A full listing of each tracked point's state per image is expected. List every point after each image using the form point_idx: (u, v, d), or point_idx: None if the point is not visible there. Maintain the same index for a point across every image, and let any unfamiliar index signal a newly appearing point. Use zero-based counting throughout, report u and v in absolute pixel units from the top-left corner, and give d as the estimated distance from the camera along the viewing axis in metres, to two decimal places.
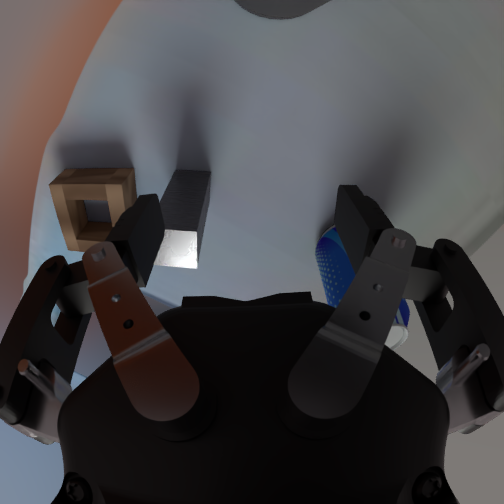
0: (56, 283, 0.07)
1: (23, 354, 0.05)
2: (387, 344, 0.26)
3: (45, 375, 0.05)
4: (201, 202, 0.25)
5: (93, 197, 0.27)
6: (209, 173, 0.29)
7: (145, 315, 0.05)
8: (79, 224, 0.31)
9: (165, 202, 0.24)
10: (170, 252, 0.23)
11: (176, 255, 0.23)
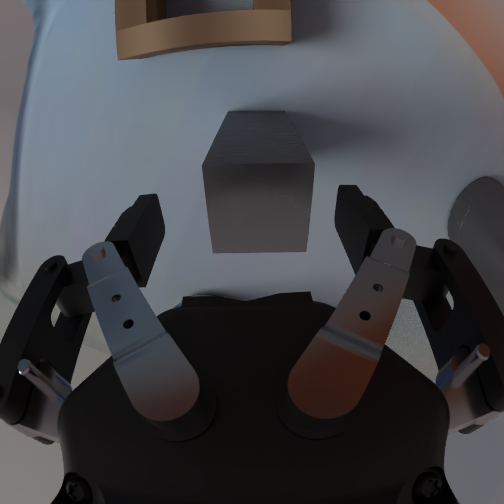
0: (56, 283, 0.07)
1: (23, 354, 0.05)
2: None
3: (45, 375, 0.05)
4: None
5: None
6: None
7: (145, 315, 0.05)
8: None
9: None
10: (250, 206, 0.11)
11: (242, 217, 0.11)
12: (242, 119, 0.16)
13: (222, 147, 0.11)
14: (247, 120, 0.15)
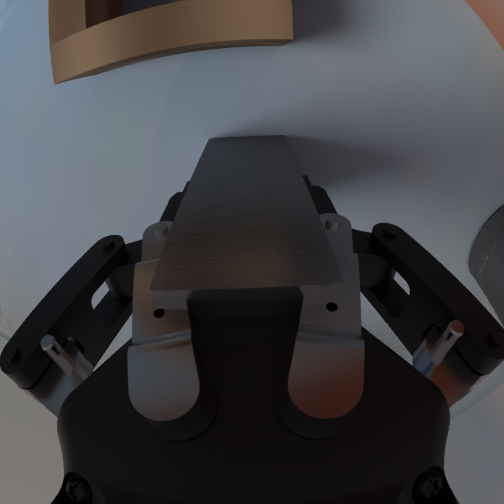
0: (107, 265, 0.08)
1: (50, 330, 0.06)
2: None
3: (68, 354, 0.06)
4: None
5: None
6: None
7: (178, 309, 0.05)
8: None
9: None
10: None
11: None
12: (226, 155, 0.12)
13: (188, 232, 0.07)
14: (233, 158, 0.11)
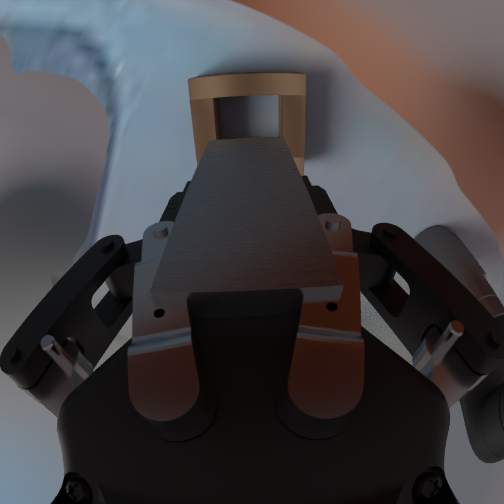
0: (106, 265, 0.08)
1: (50, 330, 0.06)
2: None
3: (68, 354, 0.06)
4: None
5: (287, 139, 0.24)
6: None
7: (178, 309, 0.05)
8: None
9: None
10: None
11: None
12: (226, 157, 0.12)
13: (188, 234, 0.07)
14: (233, 160, 0.11)
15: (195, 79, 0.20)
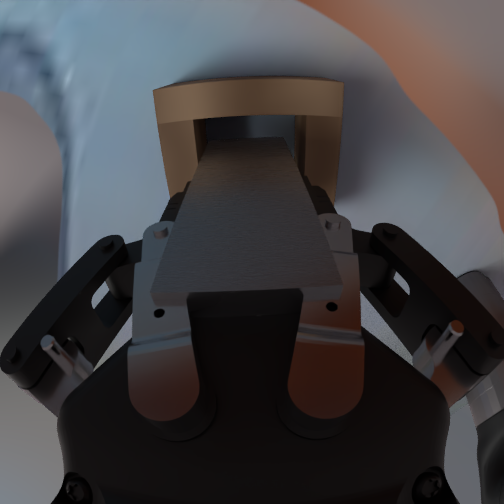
0: (106, 265, 0.08)
1: (51, 330, 0.06)
2: None
3: (68, 354, 0.06)
4: None
5: None
6: None
7: (178, 309, 0.05)
8: None
9: None
10: None
11: None
12: (226, 157, 0.12)
13: (188, 234, 0.07)
14: (233, 160, 0.11)
15: (164, 90, 0.12)
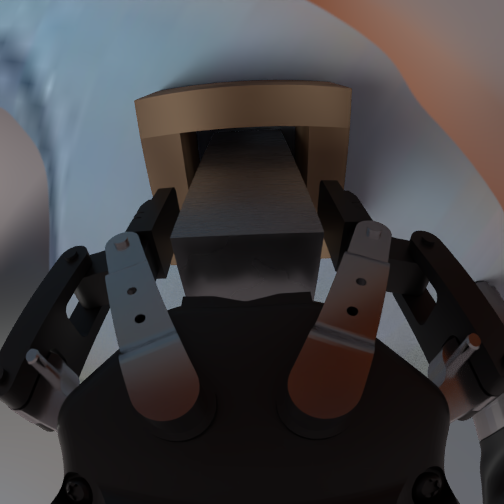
0: (75, 274, 0.07)
1: (33, 344, 0.05)
2: None
3: (53, 366, 0.05)
4: None
5: None
6: None
7: (158, 312, 0.05)
8: None
9: None
10: (237, 283, 0.08)
11: (228, 295, 0.09)
12: (229, 145, 0.13)
13: (200, 199, 0.09)
14: (235, 147, 0.13)
15: (147, 100, 0.11)
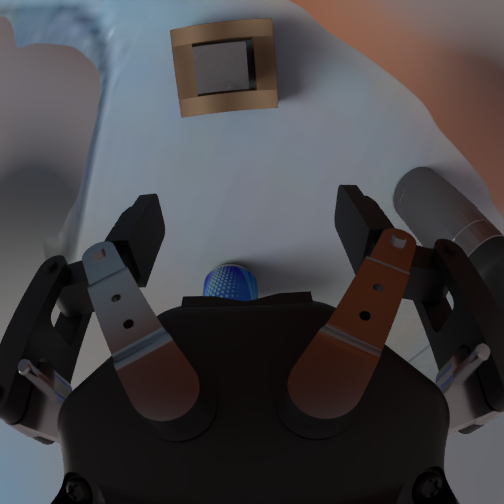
0: (56, 283, 0.07)
1: (23, 354, 0.05)
2: None
3: (45, 375, 0.05)
4: None
5: (259, 74, 0.23)
6: None
7: (145, 315, 0.05)
8: (204, 43, 0.22)
9: None
10: (215, 64, 0.17)
11: (212, 71, 0.18)
12: None
13: None
14: None
15: (176, 29, 0.20)
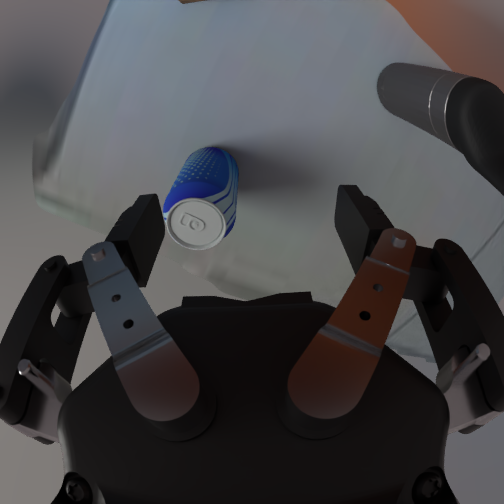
0: (56, 283, 0.07)
1: (23, 354, 0.05)
2: (192, 236, 0.31)
3: (45, 375, 0.05)
4: None
5: None
6: None
7: (145, 315, 0.05)
8: None
9: None
10: None
11: None
12: None
13: None
14: None
15: None
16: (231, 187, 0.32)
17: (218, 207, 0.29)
